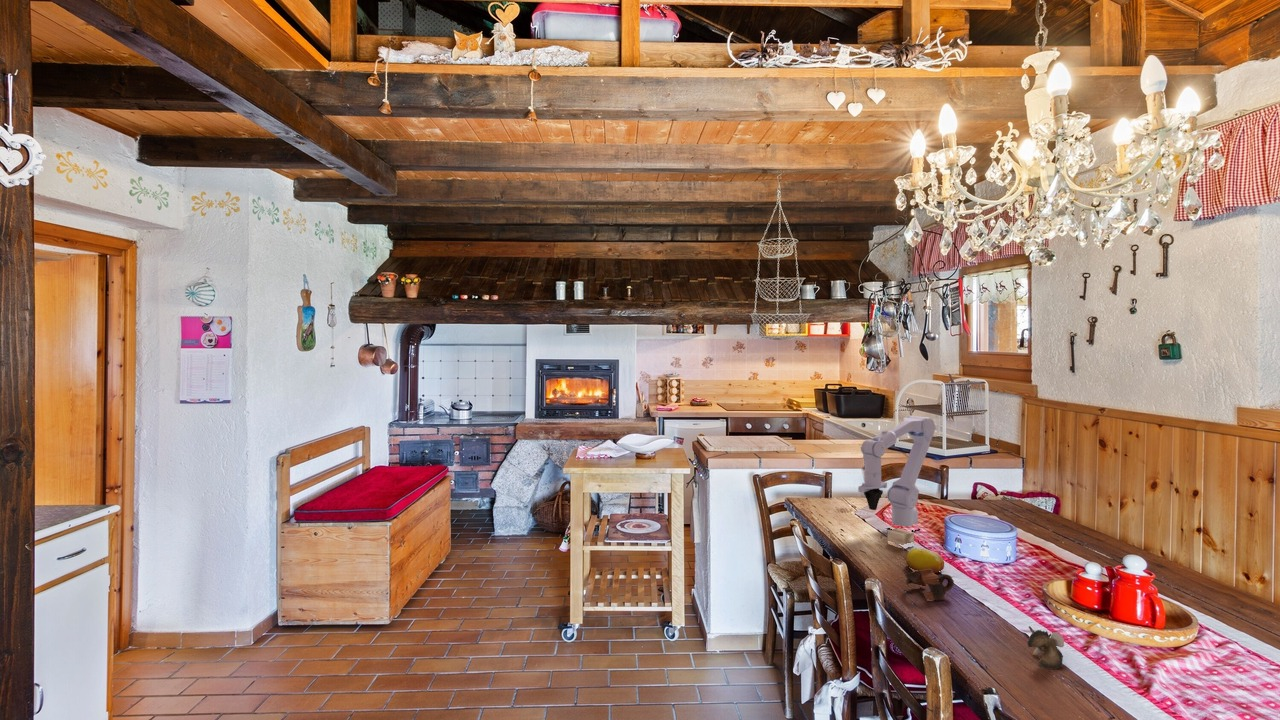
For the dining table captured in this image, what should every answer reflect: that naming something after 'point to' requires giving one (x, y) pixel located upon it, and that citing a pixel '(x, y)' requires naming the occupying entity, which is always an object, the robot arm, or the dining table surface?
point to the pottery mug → (931, 583)
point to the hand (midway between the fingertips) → (872, 509)
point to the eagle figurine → (1047, 648)
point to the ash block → (900, 536)
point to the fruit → (924, 560)
